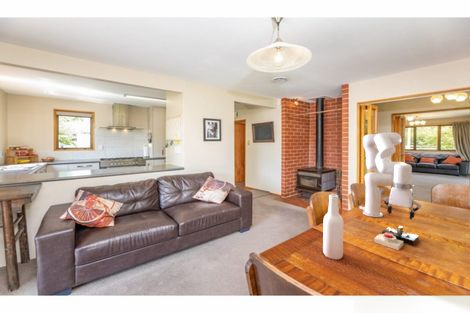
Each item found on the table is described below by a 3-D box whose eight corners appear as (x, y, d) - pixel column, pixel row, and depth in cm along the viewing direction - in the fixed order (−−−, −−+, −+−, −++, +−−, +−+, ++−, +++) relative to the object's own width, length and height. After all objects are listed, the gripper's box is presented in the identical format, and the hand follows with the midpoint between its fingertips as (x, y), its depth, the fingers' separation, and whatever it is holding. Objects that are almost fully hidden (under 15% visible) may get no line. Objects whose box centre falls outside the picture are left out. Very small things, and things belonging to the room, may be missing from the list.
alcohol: (342, 262, 94) (343, 198, 92) (321, 256, 99) (322, 196, 97) (343, 253, 102) (344, 194, 100) (324, 248, 106) (325, 192, 104)
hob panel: (381, 236, 118) (382, 231, 118) (387, 231, 124) (388, 226, 124) (413, 246, 107) (413, 240, 106) (418, 240, 113) (418, 234, 112)
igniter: (373, 242, 112) (373, 234, 112) (379, 237, 117) (379, 230, 116) (398, 250, 103) (398, 242, 103) (403, 245, 108) (403, 237, 108)
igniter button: (383, 236, 110) (383, 233, 110) (385, 234, 112) (385, 231, 112) (391, 239, 107) (391, 236, 107) (393, 237, 109) (393, 234, 109)
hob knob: (399, 231, 117) (399, 225, 117) (402, 232, 116) (403, 226, 115) (397, 234, 114) (397, 227, 114) (400, 234, 113) (400, 228, 113)
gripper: (424, 187, 108) (422, 218, 110) (385, 182, 122) (384, 210, 124) (420, 190, 104) (418, 222, 105) (381, 184, 118) (379, 213, 119)
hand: (400, 215), depth 115 cm, fingers open, 9 cm apart
